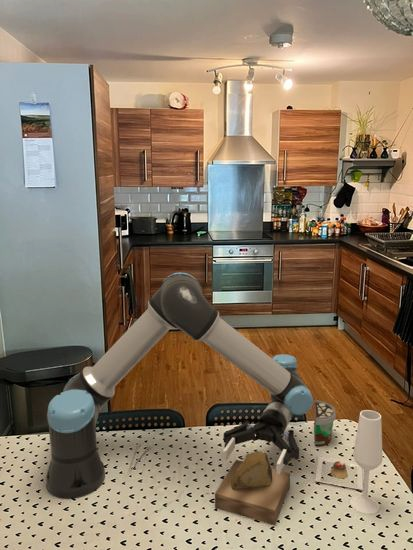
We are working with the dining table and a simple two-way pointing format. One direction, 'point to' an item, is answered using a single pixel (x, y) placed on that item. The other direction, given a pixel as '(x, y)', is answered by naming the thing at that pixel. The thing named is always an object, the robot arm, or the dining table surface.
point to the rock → (253, 471)
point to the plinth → (253, 497)
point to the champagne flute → (367, 456)
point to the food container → (323, 423)
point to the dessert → (339, 471)
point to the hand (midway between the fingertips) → (250, 462)
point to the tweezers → (139, 457)
